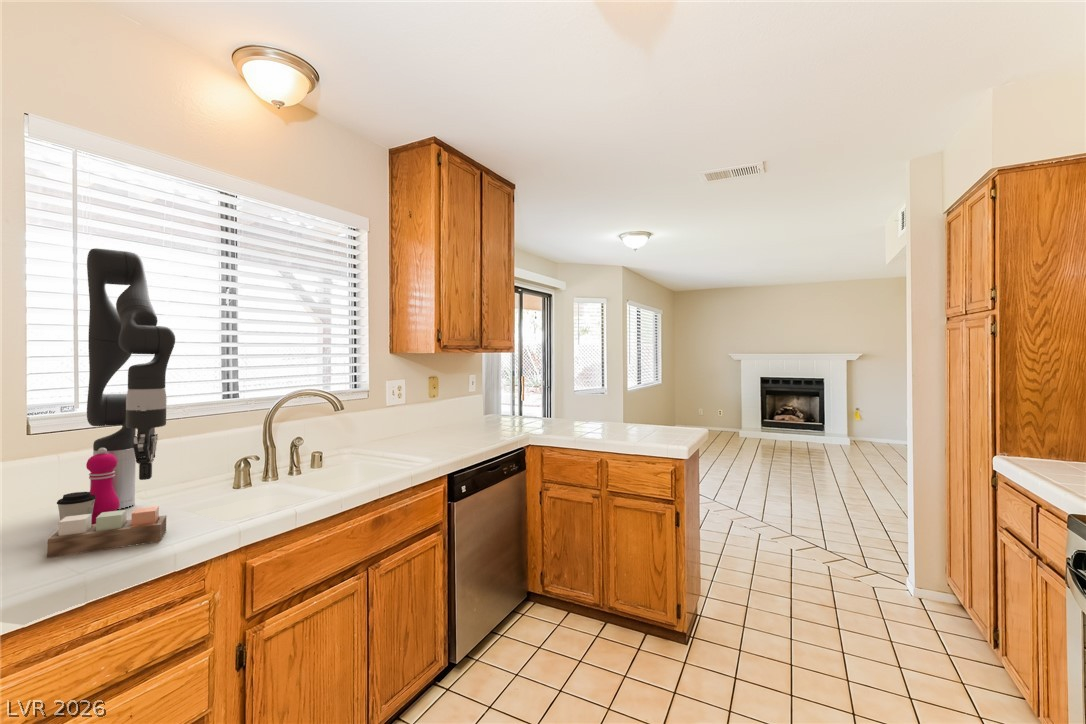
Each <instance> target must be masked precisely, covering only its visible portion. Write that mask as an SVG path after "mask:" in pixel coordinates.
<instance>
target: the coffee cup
mask: <svg viewBox="0 0 1086 724" xmlns="http://www.w3.org/2000/svg"><path fill="white" fill-rule="evenodd" d="M62 496H63V497H62V498H60V499H58V500H57V502H56V504H57V508H58V514H59V519H60V520H59V522H60V521H61V520H62V519H63V518H65V517H67V516H75V515H84V514H92V513H93V507H94V501H95V499H96V497H95V495H91V494H90V491H75V492H71V493H66V494H63V495H62ZM91 519H92V515H91Z"/></svg>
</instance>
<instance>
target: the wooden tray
mask: <svg viewBox="0 0 1086 724" xmlns="http://www.w3.org/2000/svg"><path fill="white" fill-rule="evenodd" d="M165 531H166V532H167V515H166V514H165V515H159V520H158V522H157V523H156V524H155V523H150V524H142V525H134V526H131V519H126V524H125V526H124V527H123V528H117V529H109V530H102V531H96V524H91V529H90V530H89V531H88V532H86V533H78V534H71V535H63V536H59V529H58V530H57V531H55V532H54V533H53V534H52V535H51V536H49V537H48V538H47V539H46V540H47V541H46V558H56V557H61V556H62V557H63V556H69V555H75V554H81V553H89V552H97V551H104V550H110V548H111V549H117V547H118V548H123V547H122V546H125V547H130V546H129V545H132V546H137V545H136V544H139V545H143V544H142V543H146V544H151V542H153V543H158V541H160V542H161V541H162V539H163V538H164V536H163V535H165V534H166V532H165ZM164 533H165V534H164ZM162 537H163V538H162Z"/></svg>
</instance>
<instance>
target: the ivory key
mask: <svg viewBox="0 0 1086 724" xmlns="http://www.w3.org/2000/svg"><path fill="white" fill-rule="evenodd" d="M91 515H92V514H84V515H75V516H67V517H65V518H63V519H62V520H61V521H60V520H59V522H58V530H59V536H63V535H71V534H78V533H86V532H88V531H89V530H90V529H91Z"/></svg>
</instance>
